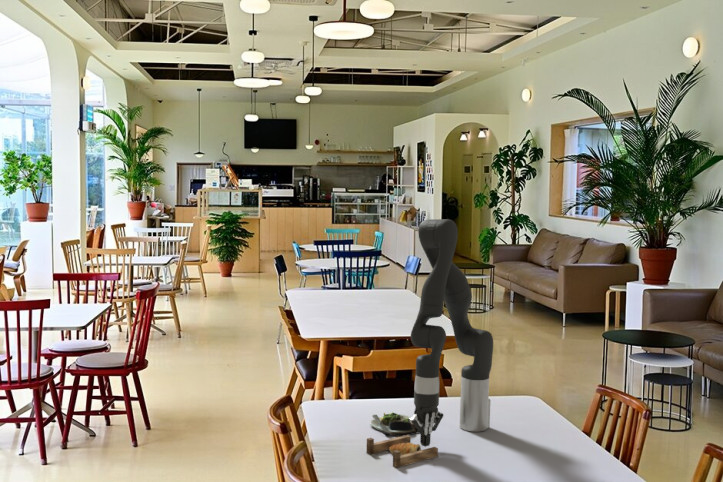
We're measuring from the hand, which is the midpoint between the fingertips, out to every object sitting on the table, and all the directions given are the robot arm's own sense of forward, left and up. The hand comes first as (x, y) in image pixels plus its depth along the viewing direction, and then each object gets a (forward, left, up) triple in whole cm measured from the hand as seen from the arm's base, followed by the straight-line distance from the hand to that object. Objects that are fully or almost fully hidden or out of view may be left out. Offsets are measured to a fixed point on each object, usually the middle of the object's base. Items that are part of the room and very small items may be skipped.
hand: (425, 445), depth 230 cm
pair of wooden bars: (+9, 0, -1) cm, 9 cm away
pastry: (+8, +1, -2) cm, 8 cm away
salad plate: (-6, -20, -2) cm, 21 cm away
